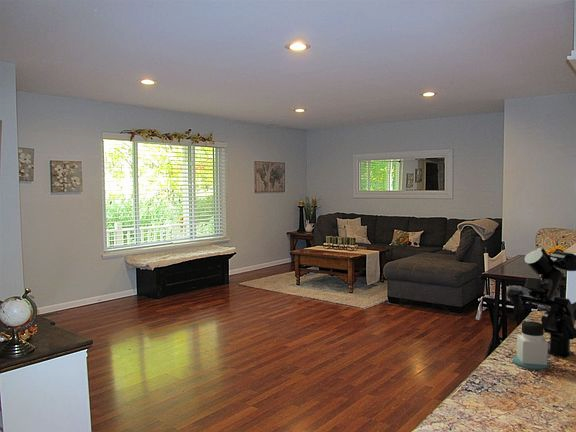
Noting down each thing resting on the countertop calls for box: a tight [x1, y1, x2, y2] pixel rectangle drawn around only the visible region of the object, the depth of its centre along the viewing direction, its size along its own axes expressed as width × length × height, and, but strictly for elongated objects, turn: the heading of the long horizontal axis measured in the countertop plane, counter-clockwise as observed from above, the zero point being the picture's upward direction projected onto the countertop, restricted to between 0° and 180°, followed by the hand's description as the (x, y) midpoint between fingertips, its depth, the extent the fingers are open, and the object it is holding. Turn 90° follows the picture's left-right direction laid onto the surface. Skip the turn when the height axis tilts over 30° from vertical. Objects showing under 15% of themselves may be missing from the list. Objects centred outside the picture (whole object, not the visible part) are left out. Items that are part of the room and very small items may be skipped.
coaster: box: [512, 355, 550, 371], centre depth 151 cm, size 10×10×1 cm
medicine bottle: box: [516, 320, 549, 365], centre depth 151 cm, size 7×7×12 cm
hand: (529, 324), depth 149 cm, fingers open, 9 cm apart
